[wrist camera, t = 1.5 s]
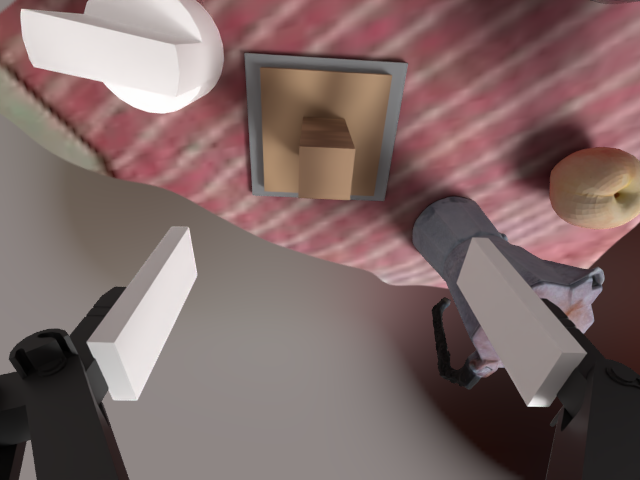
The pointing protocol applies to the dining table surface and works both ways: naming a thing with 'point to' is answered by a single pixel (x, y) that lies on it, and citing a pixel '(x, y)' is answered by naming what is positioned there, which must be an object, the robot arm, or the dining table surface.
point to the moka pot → (541, 275)
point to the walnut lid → (322, 131)
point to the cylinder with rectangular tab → (131, 49)
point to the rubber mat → (328, 64)
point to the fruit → (596, 188)
